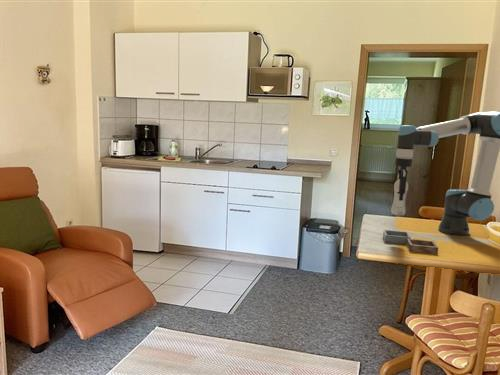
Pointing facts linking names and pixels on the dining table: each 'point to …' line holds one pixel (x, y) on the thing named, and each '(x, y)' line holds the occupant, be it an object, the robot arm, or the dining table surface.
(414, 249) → the walnut collar
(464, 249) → the dining table surface
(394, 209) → the silver metal bottle
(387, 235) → the grey tray
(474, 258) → the dining table surface
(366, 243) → the dining table surface
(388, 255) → the dining table surface
